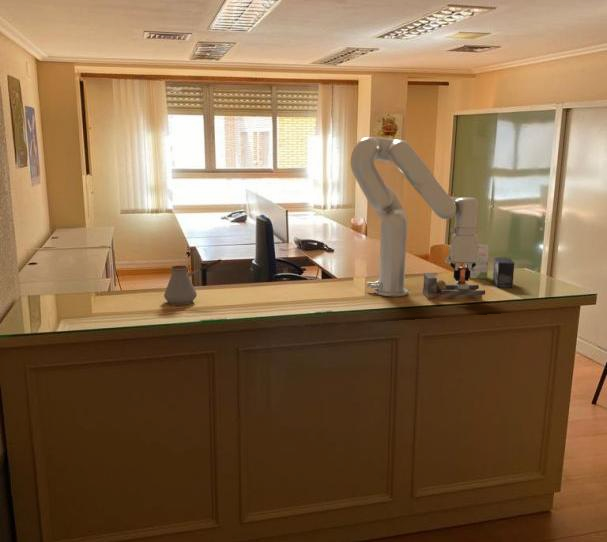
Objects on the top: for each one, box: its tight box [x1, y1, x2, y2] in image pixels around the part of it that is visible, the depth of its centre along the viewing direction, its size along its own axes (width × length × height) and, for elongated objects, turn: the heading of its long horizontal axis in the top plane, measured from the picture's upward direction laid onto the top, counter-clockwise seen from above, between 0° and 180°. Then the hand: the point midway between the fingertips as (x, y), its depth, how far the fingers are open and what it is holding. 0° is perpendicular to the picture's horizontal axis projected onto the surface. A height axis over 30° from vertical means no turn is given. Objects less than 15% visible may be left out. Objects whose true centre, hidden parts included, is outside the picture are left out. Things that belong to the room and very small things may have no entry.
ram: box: [453, 265, 470, 290], centre depth 222 cm, size 4×6×9 cm, turn 0°
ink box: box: [465, 243, 490, 279], centre depth 252 cm, size 9×5×15 cm, turn 84°
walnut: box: [436, 279, 446, 292], centre depth 222 cm, size 4×4×4 cm
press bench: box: [422, 272, 486, 301], centre depth 222 cm, size 21×9×8 cm, turn 90°
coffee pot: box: [163, 258, 224, 306], centre depth 213 cm, size 21×12×15 cm, turn 107°
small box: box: [492, 256, 516, 289], centre depth 240 cm, size 11×6×10 cm, turn 172°
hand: (461, 279), depth 222 cm, fingers closed on ram, 3 cm apart
